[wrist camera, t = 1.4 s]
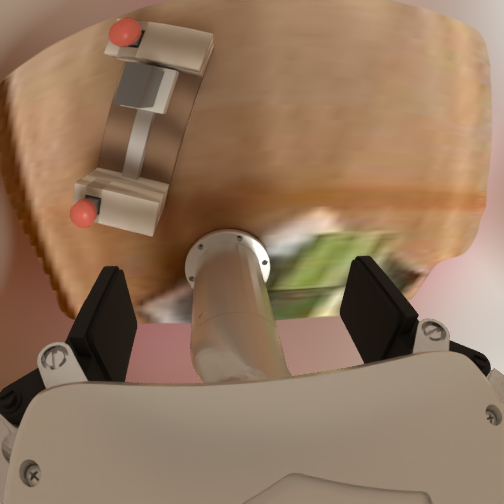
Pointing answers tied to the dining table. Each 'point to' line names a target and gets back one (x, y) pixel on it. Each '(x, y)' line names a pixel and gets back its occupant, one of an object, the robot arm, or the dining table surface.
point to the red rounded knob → (126, 33)
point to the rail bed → (159, 133)
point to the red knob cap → (85, 211)
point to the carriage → (146, 87)
